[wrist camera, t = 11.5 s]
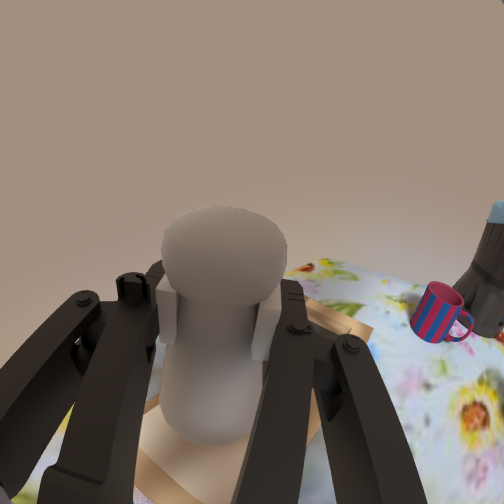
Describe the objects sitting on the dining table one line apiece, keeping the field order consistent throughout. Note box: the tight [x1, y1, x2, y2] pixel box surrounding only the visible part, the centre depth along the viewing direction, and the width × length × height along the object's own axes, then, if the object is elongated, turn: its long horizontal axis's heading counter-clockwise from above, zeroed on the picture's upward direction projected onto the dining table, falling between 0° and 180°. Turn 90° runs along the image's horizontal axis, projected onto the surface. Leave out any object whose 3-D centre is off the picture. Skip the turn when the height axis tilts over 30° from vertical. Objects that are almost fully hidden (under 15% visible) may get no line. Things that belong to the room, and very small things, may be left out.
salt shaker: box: [159, 206, 287, 446], centre depth 12 cm, size 6×6×13 cm
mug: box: [410, 282, 474, 343], centre depth 32 cm, size 7×10×7 cm
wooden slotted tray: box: [134, 295, 374, 504], centre depth 23 cm, size 12×30×2 cm, turn 144°
